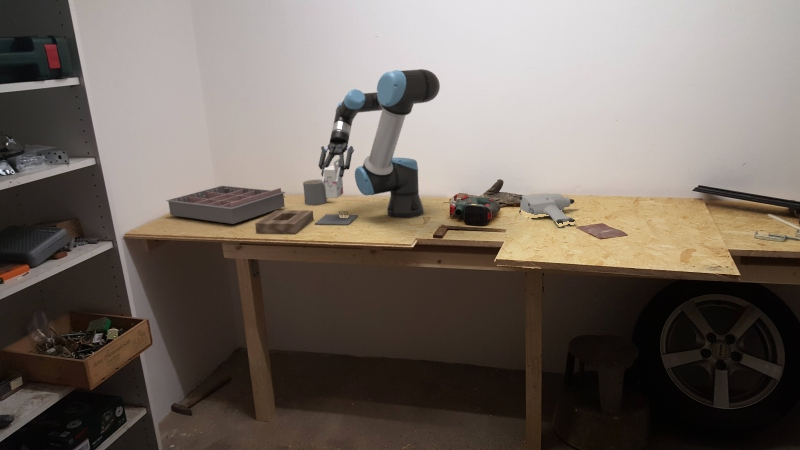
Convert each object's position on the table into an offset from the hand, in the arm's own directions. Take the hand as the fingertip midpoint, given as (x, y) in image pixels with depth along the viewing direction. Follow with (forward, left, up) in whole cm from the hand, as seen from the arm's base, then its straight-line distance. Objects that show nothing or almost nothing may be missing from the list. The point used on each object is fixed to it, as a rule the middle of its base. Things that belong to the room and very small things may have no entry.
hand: (330, 183), depth 231 cm
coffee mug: (+18, -32, -16) cm, 40 cm away
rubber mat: (0, -3, -16) cm, 17 cm away
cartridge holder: (+18, +7, -16) cm, 25 cm away
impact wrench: (-88, -11, -17) cm, 91 cm away
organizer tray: (+53, -12, -17) cm, 57 cm away
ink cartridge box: (0, -4, -6) cm, 7 cm away
